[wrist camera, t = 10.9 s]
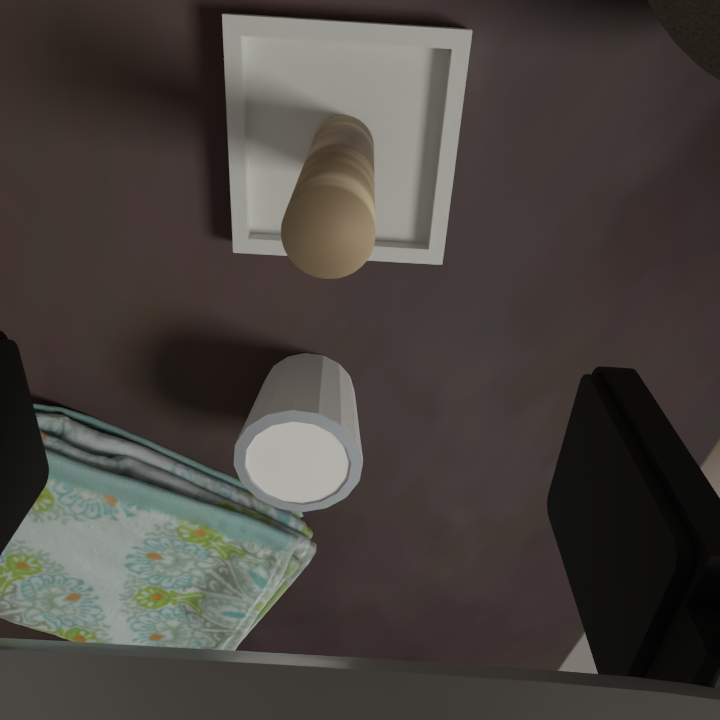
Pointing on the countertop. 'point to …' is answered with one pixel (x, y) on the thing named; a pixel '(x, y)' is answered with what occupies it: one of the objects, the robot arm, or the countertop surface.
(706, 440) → the countertop surface
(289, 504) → the shot glass
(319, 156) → the dowel
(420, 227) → the tray
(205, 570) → the towel
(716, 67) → the cantaloupe
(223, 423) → the countertop surface
